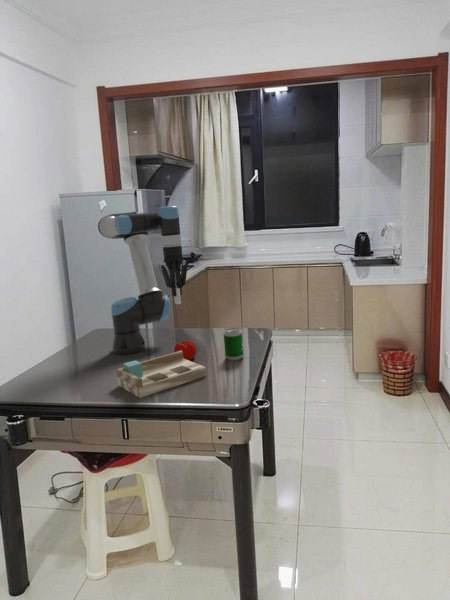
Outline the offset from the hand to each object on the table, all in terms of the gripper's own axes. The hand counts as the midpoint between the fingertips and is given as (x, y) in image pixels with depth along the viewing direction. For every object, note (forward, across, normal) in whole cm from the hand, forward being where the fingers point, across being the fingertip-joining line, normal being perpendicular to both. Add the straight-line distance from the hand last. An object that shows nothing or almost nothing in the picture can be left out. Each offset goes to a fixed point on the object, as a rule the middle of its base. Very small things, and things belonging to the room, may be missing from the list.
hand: (178, 303), depth 206 cm
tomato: (+25, -2, -1) cm, 25 cm away
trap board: (+24, +18, +14) cm, 33 cm away
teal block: (+21, +27, +10) cm, 36 cm away
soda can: (+25, -16, +13) cm, 33 cm away
